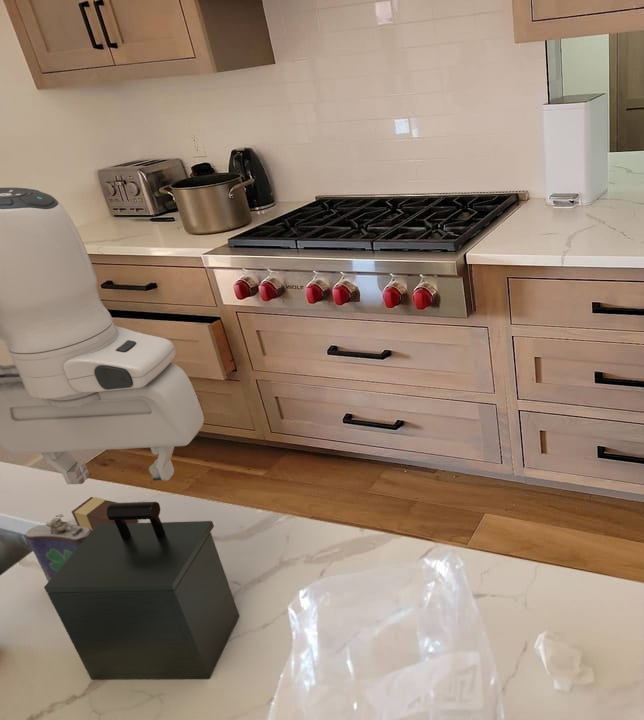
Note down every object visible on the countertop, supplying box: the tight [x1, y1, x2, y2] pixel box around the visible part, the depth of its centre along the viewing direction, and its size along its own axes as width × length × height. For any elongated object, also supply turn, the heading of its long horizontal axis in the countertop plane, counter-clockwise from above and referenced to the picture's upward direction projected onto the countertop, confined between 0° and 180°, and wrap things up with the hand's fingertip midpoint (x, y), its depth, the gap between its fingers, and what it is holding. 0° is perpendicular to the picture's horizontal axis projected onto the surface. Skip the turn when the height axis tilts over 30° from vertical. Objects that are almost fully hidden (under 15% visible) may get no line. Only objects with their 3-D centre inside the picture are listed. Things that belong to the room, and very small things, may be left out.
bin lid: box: [43, 501, 215, 593], centre depth 71 cm, size 10×14×5 cm
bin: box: [46, 531, 240, 680], centre depth 75 cm, size 9×14×13 cm, turn 86°
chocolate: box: [71, 496, 139, 530], centre depth 98 cm, size 8×4×3 cm, turn 69°
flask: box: [24, 513, 92, 583], centre depth 86 cm, size 9×3×11 cm, turn 79°
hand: (121, 479), depth 71 cm, fingers open, 8 cm apart
